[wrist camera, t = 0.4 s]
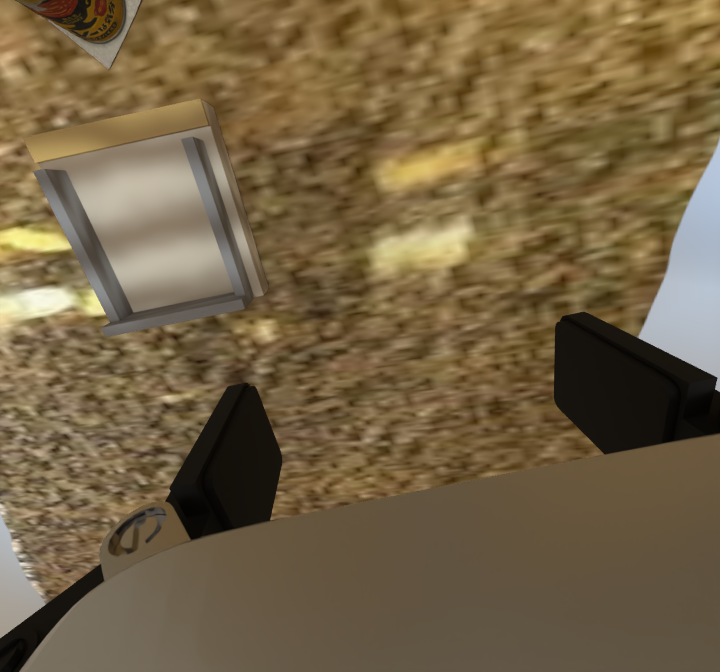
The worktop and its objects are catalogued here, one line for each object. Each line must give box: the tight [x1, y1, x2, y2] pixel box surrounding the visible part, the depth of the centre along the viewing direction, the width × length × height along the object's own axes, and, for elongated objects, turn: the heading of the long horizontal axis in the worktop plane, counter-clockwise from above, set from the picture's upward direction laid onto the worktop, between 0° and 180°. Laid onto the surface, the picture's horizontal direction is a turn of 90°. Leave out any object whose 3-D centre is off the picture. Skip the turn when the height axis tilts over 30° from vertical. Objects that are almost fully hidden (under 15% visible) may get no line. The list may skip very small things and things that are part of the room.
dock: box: [23, 99, 269, 337], centre depth 33 cm, size 18×16×7 cm
